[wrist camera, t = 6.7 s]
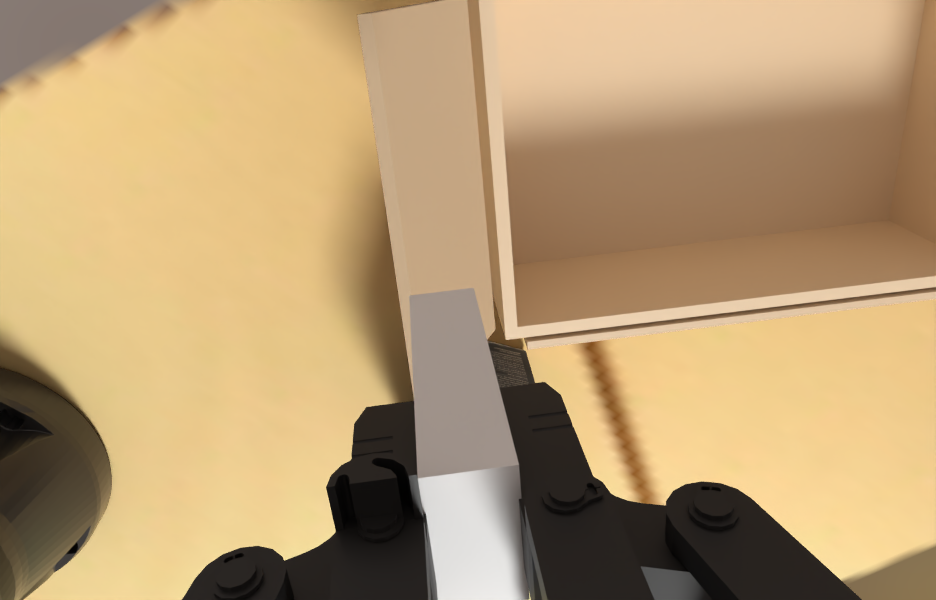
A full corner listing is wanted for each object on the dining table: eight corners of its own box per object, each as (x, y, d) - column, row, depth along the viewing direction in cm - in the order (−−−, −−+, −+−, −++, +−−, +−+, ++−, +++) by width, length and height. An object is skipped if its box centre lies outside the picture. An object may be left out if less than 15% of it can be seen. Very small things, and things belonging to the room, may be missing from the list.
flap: (485, 328, 32) (416, 412, 27) (454, -3, 27) (357, 14, 21) (495, 329, 32) (427, 414, 26) (466, -4, 26) (371, 13, 21)
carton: (486, 280, 41) (506, 352, 33) (457, -46, 34) (474, -53, 26) (894, 231, 42) (1007, 290, 34) (950, -96, 35) (1110, -117, 27)
